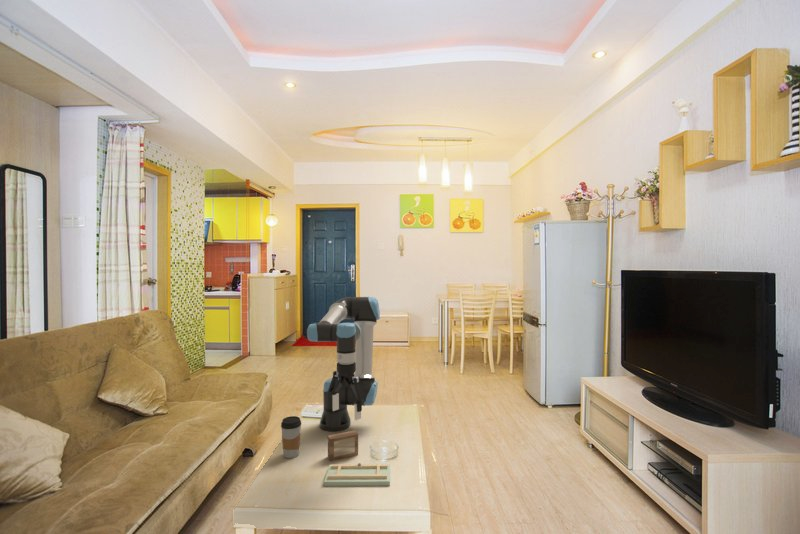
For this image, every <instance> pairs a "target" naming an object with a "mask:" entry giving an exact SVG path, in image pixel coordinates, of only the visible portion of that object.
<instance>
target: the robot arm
mask: <svg viewBox="0 0 800 534" xmlns="http://www.w3.org/2000/svg"><path fill="white" fill-rule="evenodd" d="M379 304H380V303H379V300H378V299H377V297H373V296H372V297H371V296H346V297H343V298H340V299H338V300H336V301H335V302H334V303H332V304H331V305H330V306H329V308H328V312H327V313H326V314H325V315H324V316H323V317H322V319H320V321H319V322H318V323H311V324H309V325H308V327H307V329H306V337H307V340H308V341H310V342H316V343H317V342H318V343H321V342H324V343H325V342H326V343H328V342H329V343H331V342H332V343H333V342H334V343H336V362H337V363H336V370H334V371H333V372H332V377H331V378H328V379H326V380H325V381H324V383H323V390H322V392H323V396H322V397H323V410H322V414H321V418H320V421H319V427H320V429H321V430H323V431H326V432H339V431H344V430H347V429H348V428H349V427H350V426H351V423H352V421H351V416H350V415H349V414H350V413H349V411H348V406H354V421H358V420H360V419H361V420H362V410H363V407H365V406H373V405H374V403H375V402H376V398H377V394H378V381H377V380H376V379H375V378H376V377H375V376H374V375H373V352H374V351H373V348H374V326H375V325H376V324H377V320H380V315H381V314H380V313H381V312H380V306H379ZM344 320H354V321H353V322H342V321H344ZM341 322H342V323H341Z"/></svg>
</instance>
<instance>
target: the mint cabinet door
mask: <svg viewBox="0 0 800 534" xmlns="http://www.w3.org/2000/svg"><path fill="white" fill-rule="evenodd" d="M323 486H324V487H326V486H327V487H328V486H329V487H333V486H335V487H341V486H343V487H347V486H349V487H351V486H352V487H357V486H359V487H360V486H362V487H363V486H365V487H366V486H369V487H370V486H371V487H372V486H375V487H376V486H377V487H378V486H391V464H390V463H388V464H387V463H385V464H384V463H379V464H378V463H375V464H374V463H373V464H370V463H368V464H367V463H364V464H362V463H359V462H358V463H357V464H353V463H351V464H345V463H343V464H342V463H341V464H338V463H337V464H329V465H328V469H327V471H326V474H325V478H324V480H323Z"/></svg>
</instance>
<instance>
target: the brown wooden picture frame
mask: <svg viewBox="0 0 800 534" xmlns="http://www.w3.org/2000/svg"><path fill="white" fill-rule="evenodd" d="M355 456H359V433H358V432H357V431H356V430H355V429H354V430H351V431H345V432H339V433H334V434H330V435H327V458H328V460H329V461H330V462H333V461H337V460H342V459H346V458H351V457H355Z"/></svg>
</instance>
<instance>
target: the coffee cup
mask: <svg viewBox="0 0 800 534" xmlns="http://www.w3.org/2000/svg"><path fill="white" fill-rule="evenodd" d="M280 427H281V441H282V450H283V451H282V454H283V456H284V457H286V459H293V458H296V456H297V457H298V456H299V454H300V446H301V434H302V433H301V427H302V420H301V418H300V416H296V415H295V416H293V415H292V416H286V417H284V418H283V419H282V420H281V423H280Z"/></svg>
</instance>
